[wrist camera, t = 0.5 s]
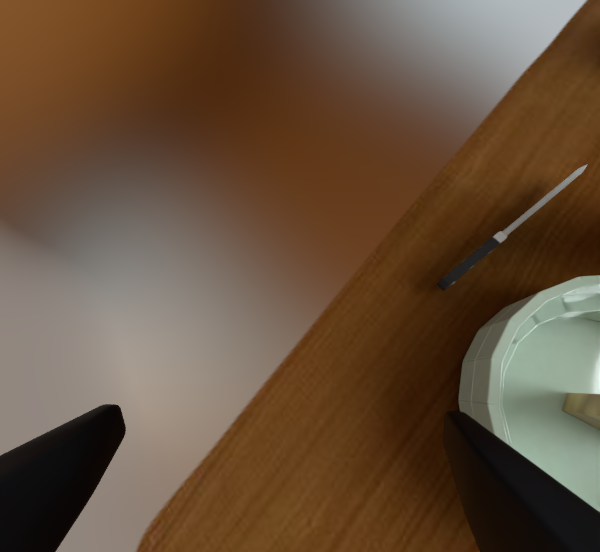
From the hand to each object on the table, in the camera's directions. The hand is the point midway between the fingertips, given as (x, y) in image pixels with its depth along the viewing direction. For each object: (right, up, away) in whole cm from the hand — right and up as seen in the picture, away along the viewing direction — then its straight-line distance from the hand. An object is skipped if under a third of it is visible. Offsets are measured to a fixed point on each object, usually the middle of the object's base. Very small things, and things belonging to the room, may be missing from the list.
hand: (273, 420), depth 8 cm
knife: (+16, +7, +14) cm, 23 cm away
